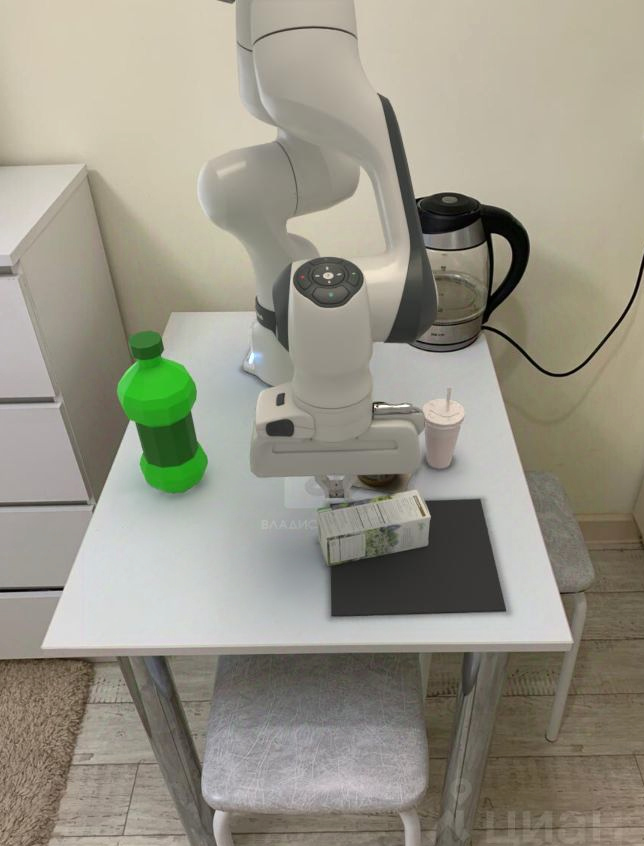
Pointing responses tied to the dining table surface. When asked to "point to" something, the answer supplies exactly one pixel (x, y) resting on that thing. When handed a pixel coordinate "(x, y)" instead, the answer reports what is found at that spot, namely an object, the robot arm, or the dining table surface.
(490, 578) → the mat
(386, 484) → the condiment
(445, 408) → the smoothie
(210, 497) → the dining table surface
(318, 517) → the syrup box
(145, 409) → the plastic bottle
